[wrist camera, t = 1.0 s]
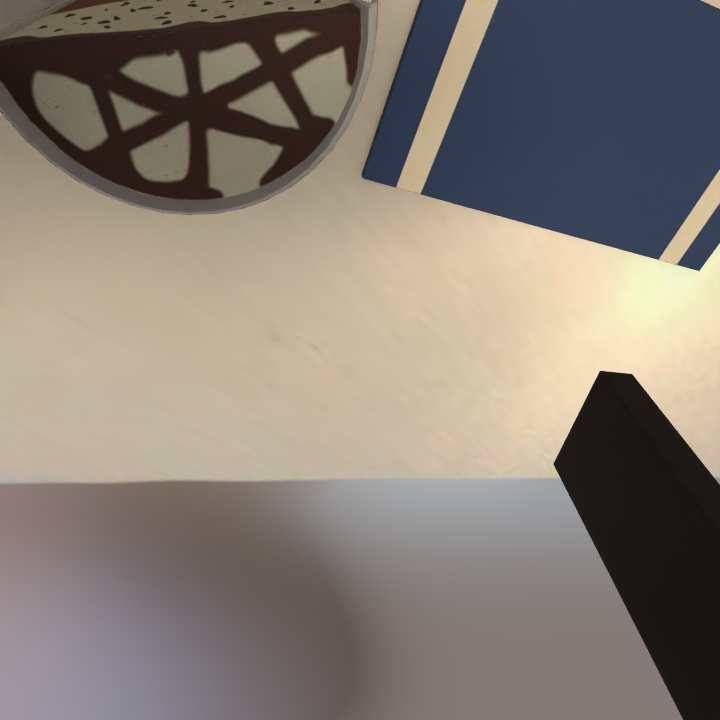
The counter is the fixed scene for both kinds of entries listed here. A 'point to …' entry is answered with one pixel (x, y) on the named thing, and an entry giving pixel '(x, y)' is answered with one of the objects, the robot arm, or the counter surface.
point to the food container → (187, 94)
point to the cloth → (564, 118)
